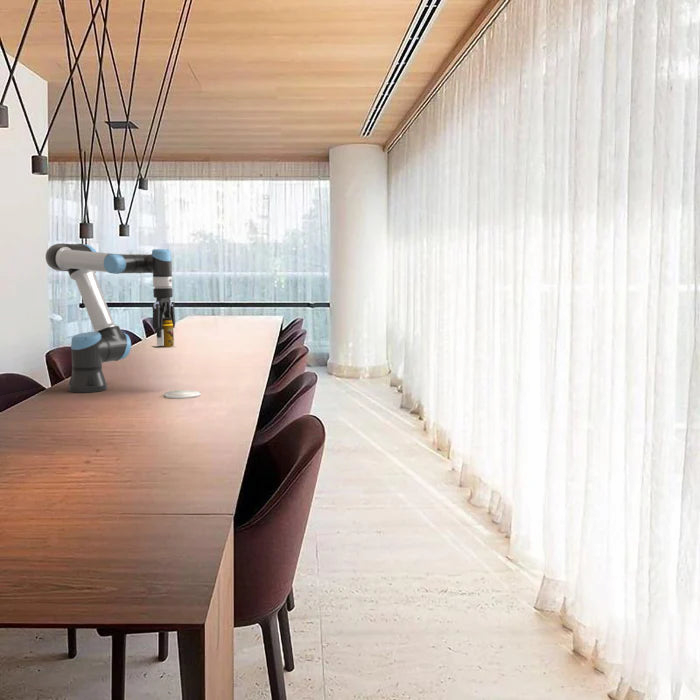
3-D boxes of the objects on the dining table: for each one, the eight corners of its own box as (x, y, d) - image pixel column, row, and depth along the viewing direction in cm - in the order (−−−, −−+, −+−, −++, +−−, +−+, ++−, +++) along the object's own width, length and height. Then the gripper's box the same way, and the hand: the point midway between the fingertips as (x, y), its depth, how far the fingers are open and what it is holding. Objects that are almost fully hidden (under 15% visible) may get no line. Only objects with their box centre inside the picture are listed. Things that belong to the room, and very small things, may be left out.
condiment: (177, 347, 316) (176, 317, 315) (157, 348, 312) (156, 318, 310) (170, 345, 322) (169, 316, 321) (150, 347, 318) (149, 317, 316)
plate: (157, 397, 305) (157, 394, 305) (175, 391, 319) (175, 388, 319) (189, 399, 301) (189, 396, 301) (206, 393, 314) (206, 390, 314)
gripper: (158, 288, 305) (160, 347, 307) (182, 287, 323) (184, 342, 325) (141, 288, 307) (143, 347, 310) (166, 287, 325) (168, 342, 328)
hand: (164, 344), depth 317 cm, fingers closed on condiment, 6 cm apart
